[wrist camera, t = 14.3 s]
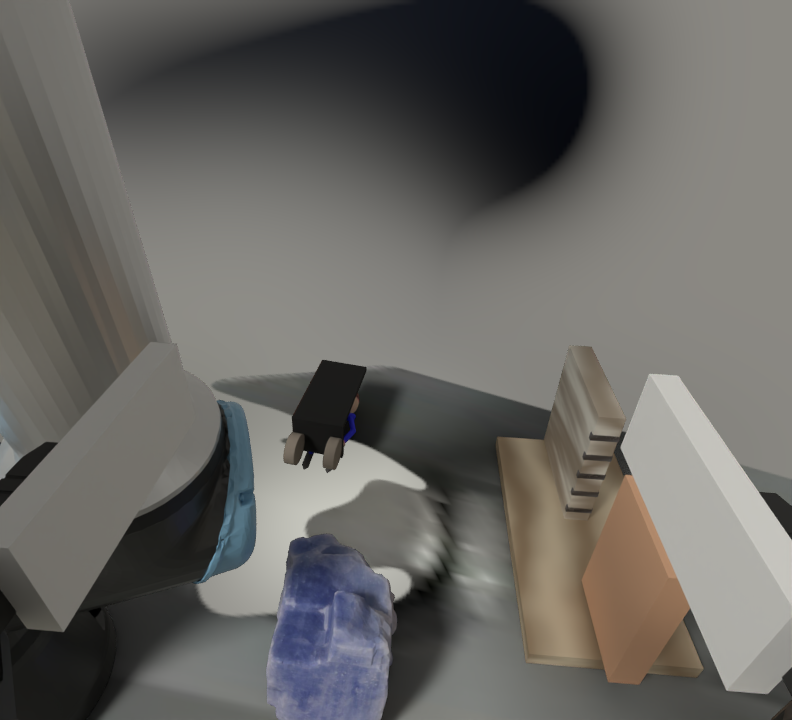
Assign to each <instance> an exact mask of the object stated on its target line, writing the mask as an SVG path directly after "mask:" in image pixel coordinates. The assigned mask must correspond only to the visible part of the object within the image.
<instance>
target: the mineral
mask: <svg viewBox="0 0 792 720" xmlns="http://www.w3.org/2000/svg"><path fill="white" fill-rule="evenodd" d="M286 566H287V567H286V570H287V571H286V574H285V580H284V588H283V591H282V593H281V598H280V602H279V607H278V612H277V618H278V622H277V625H276V628H275V631H274V635H273V638H272V643H271V647H270V650H269V656H268V662H267V668H266V675H267V703H268V704H270V705H272V706H274V707H275V708H276V716H277V718H278V719H279V720H381V717H382V713H383V709H384V707H385V703H386V699H387V695H388V675H389V666H390V665H392V662H393V655H392V651H391V636H392V635H393V634H394V632H395V630H396V629H397V615H396V613H395V611H394V609H393V601H394V598H395V597H394V594H393V593H392V592H391V589H390V583H389V581H388V579H386V578H385V577H383V575H382V574H376V573H374V571H373V570H372V569H371V568H370V566H369V565H368V563H367V562H366V561H365V559H364V556H363V555H362V554H361V553H360V552H358V551H357V550H356V549H352V548H351V547H349V546H345V545H341V544H339V542H338V541H337V540H336V538H335V537H334V535H332V534H321V535H315V536H312V537H309V538H304V537H301V538H297V539H295V540H293V541H291V542H290V546H289V551H288V558H287V561H286Z"/></svg>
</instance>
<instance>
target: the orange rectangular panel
mask: <svg viewBox="0 0 792 720" xmlns="http://www.w3.org/2000/svg"><path fill="white" fill-rule="evenodd" d="M582 584H583V588H584V592H585V596H586V599H587V603H588V607H589V611H590V615H591V619H592V622H593V626H594V630H595V634H596V638H597V642H598V645H599V649H600V653H601V657H602V661H603V665H604V668H605V672H606V676H607V680H608V682H613V683H624V684H636V685H639V684H640V683H641V681H642V680H643V678H644V677H645V675H646V674H647V672H648V671H649V669H650V668H651V666H652V665H653V663H654V662H655V660H656V659H657V657H658V656H659V654H660V653H661V651H662V650H663V648H664V647H665V645H666V644H667V642H668V641H669V639H670V638H671V636H672V635H673V633H674V632H675V630H676V629H677V627H678V626H679V624H680V623H681V621H682V620H683V618H684V617H685V615H686V614H687V612H688V611H689V609H690V606H689V604H688V601H687V599H686V597H685V594H684V592H683V590H682V588H681V585H680V583H679V581H678V578H677V576H676V574H675V572H674V569H673V567H672V565H671V562H670V560H669V558H668V556H667V553H666V551H665V549H664V546H663V544H662V542H661V539H660V537H659V535H658V533H657V530H656V528H655V526H654V523H653V521H652V519H651V517H650V514H649V512H648V510H647V507H646V505H645V503H644V501H643V498H642V496H641V494H640V491H639V489H638V487H637V484H636V482H635V480H634V478H633V475H625V477H624V479H623V482H622V484H621V486H620V489H619V491H618V494H617V496H616V498H615V501H614V503H613V506H612V508H611V510H610V513H609V515H608V518H607V520H606V522H605V525H604V527H603V530H602V532H601V535H600V537H599V539H598V542H597V544H596V547H595V549H594V551H593V554H592V556H591V559H590V561H589V563H588V566H587V568H586V571H585V573H584V576H583V578H582Z"/></svg>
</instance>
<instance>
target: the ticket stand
mask: <svg viewBox="0 0 792 720" xmlns="http://www.w3.org/2000/svg"><path fill="white" fill-rule="evenodd" d="M625 421H626V417H625V416H624V413H623V411H622V409H621V407H620V405H619V403H618V401H617V399H616V396H615V394H614V392H613V390H612V388H611V386H610V384H609V382H608V380H607V378H606V376H605V374H604V372H603V369H602V367H601V365H600V363H599V362H598V359H597V357H596V355H595V353H594V351H593V349H592V347H587V346H571V345H570V346H569V349H568V352H567V356H566V360H565V363H564V367H563V371H562V374H561V378H560V382H559V385H558V389H557V393H556V397H555V401H554V404H553V408H552V412H551V415H550V419H549V423H548V427H547V430H546V434H545V438H544V440H538V439H523V438H509V437H497V441H496V452H497V459H498V466H499V474H500V481H501V488H502V495H503V502H504V509H505V516H506V524H507V531H508V538H509V545H510V552H511V559H512V567H513V574H514V581H515V588H516V595H517V602H518V610H519V617H520V624H521V631H522V638H523V645H524V652H525V660H526V663H535V664H546V665H557V666H569V667H580V668H592V669H603V670H605V668H604V665H603V661H602V657H601V653H600V649H599V645H598V642H597V638H596V634H595V630H594V626H593V622H592V619H591V615H590V611H589V607H588V603H587V599H586V596H585V592H584V588H583V584H582V578H583V576H584V573H585V571H586V568H587V566H588V563H589V561H590V559H591V556H592V554H593V551H594V549H595V547H596V544H597V542H598V539H599V537H600V535H601V532H602V530H603V527H604V525H605V522H606V520H607V518H608V515H609V513H610V510H611V508H612V506H613V503H614V501H615V498H616V496H617V494H618V491H619V489H620V486H621V484H622V482H623V479H624V476H623V474H622V471H621V469H620V466H619V464H618V462H617V459H616V457H615V454H614V450H615V447H616V445H617V442H619V440H620V434H621V432H622V429H623V426H624V424H625ZM702 671H703V666H702V664H701V661H700V659H699V657H698V654H697V652H696V649H695V647H694V645H693V642H692V640H691V637H690V635H689V633H688V630H687V628H686V625H685V623H684V620H682V621H681V623H680V624H679V626H678V627H677V629H676V630H675V632H674V633H673V635H672V636H671V638H670V639H669V641H668V642H667V644H666V645H665V647H664V648H663V650H662V651H661V653H660V654H659V656H658V657H657V659H656V660H655V662H654V663H653V665H652V666H651V668H650V669H649V671H648V672H647V673H649V674H660V675H671V676H683V677H694V678H697V677H698V676H699V674H700V673H701V672H702Z"/></svg>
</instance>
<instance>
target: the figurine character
mask: <svg viewBox="0 0 792 720" xmlns="http://www.w3.org/2000/svg"><path fill="white" fill-rule="evenodd" d="M365 373H366V367H362V366H356V365H351V364H344V363H338V362H332V361H327V360H322V361H321V364H320V365H319V367H318V369H317V371H316V373H315V375H314V376H313V378H312V380H311V382H310V384H309V386H308V388H307V390H306V392H305V393H304V395H303V397H302V399H301V401H300V403H299V405H298V407H297V409H296V410H295V412H294V414H293V416H292V425H293V432H292V433H291V434H290V435H289V437H288V439H287V442H286V445H285V449H284V456H283V457H284V458H283V459H284V462H285V463H287V464H293V465H297V464H298V463H299V461H300V459H301V456H302V453H303V451H307V454H306V456H305V459H304V461H303V464H302V466H303V469H306V468H308V467H309V464H310V461H311V459H312V456H313V454H314V453H319V454H324V456H323V467H324V468H326V472H327V473H328V472H329V471H331V470H332V469H333V470H335V469H336V467H337V465H338V463H339V460H340V458H342V457H343V452H344V446H345V443H346V442H347V441H348V440H349V439H350V438H351V437H352V436H353V435H354V434H355V433H356V428H355V424H354V419H355V418H356V415H355V414H354V412H355V411H356V409H357V407H358V405H359V395H358V390H359V388H360V385H361V383H362V380H363V378H364V375H365ZM346 421H349V425H350V431H349V432H348V433H347V434H346V435H345V436H344V426H345V423H346Z"/></svg>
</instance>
